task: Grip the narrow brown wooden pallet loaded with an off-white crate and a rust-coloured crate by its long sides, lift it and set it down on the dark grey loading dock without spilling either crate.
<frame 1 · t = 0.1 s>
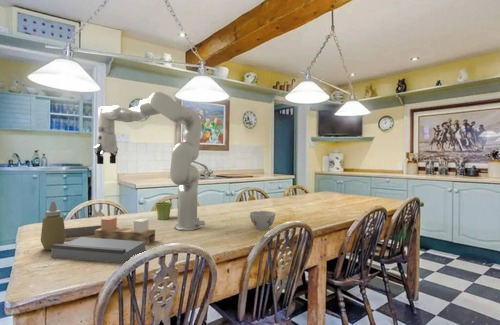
hand: (106, 163, 150), 31 cm above the table, tool pointing down, fingers open, 9 cm apart
teacup: (260, 228, 143), on the table
pallet: (125, 241, 120), on the table, touching rust crate, white crate
plant pot: (163, 218, 162), on the table
squeeze bottle: (53, 248, 110), on the table
rust crate: (109, 228, 121), point 5 cm above the table, touching pallet
hardcover book: (78, 236, 128), on the table
dock: (100, 252, 105), on the table
white crate: (141, 230, 119), point 5 cm above the table, touching pallet
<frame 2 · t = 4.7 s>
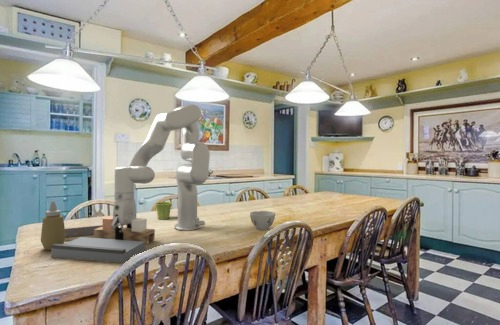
hand: (124, 238, 120), 1 cm above the table, tool pointing down, fingers closed on pallet, 6 cm apart
pallet: (124, 241, 120), on the table, touching gripper, rust crate, white crate
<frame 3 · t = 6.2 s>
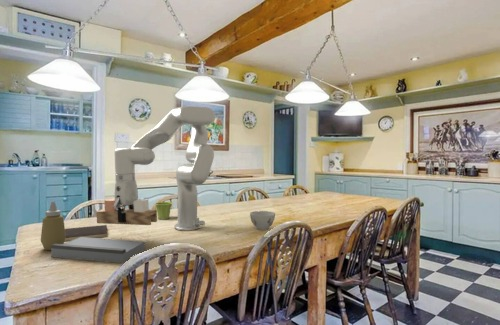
hand: (126, 219, 121), 9 cm above the table, tool pointing down, fingers closed on pallet, 6 cm apart
pallet: (127, 222, 121), point 8 cm above the table, touching gripper, rust crate, white crate
rust crate: (112, 210, 122), point 13 cm above the table, touching pallet
white crate: (141, 210, 119), point 13 cm above the table, touching pallet
everything else where it was.
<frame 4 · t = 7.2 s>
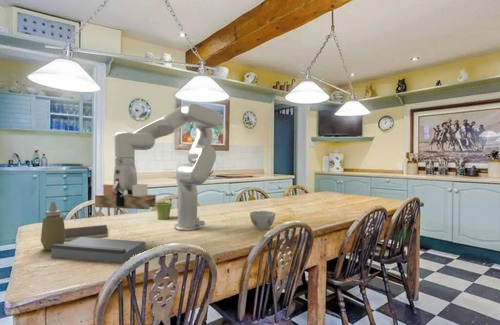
hand: (125, 204, 120), 15 cm above the table, tool pointing down, fingers closed on pallet, 6 cm apart
pallet: (125, 206, 120), point 14 cm above the table, touching gripper, rust crate, white crate
rust crate: (111, 194, 121), point 19 cm above the table, touching pallet
white crate: (140, 195, 119), point 19 cm above the table, touching pallet
everything else where it was.
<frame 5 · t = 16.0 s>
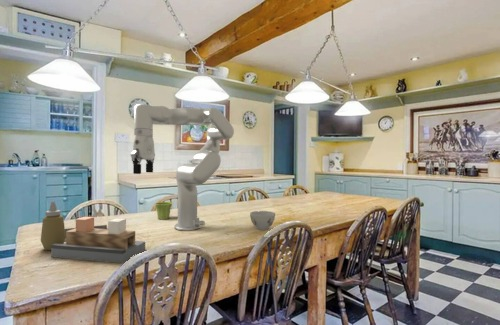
hand: (143, 173, 124), 28 cm above the table, tool pointing down, fingers open, 9 cm apart
pallet: (101, 244, 106), point 3 cm above the table, touching dock, rust crate, white crate
rust crate: (85, 230, 107), point 8 cm above the table, touching pallet
white crate: (117, 232, 104), point 8 cm above the table, touching pallet
everything else where it was.
at the end: pallet inside the target area on the dock (0.3 cm from its centre), point 3.0 cm above the dock's base; white crate inside the target area on the pallet (6.6 cm from its centre), point 5.0 cm above the pallet's base; rust crate inside the target area on the pallet (6.7 cm from its centre), point 5.0 cm above the pallet's base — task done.
